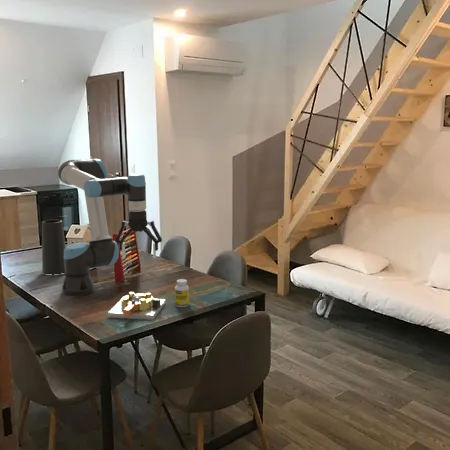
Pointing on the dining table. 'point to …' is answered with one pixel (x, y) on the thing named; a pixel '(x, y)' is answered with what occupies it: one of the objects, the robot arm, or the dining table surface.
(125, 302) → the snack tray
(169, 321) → the dining table surface
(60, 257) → the vase
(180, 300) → the pill bottle
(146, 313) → the plate
